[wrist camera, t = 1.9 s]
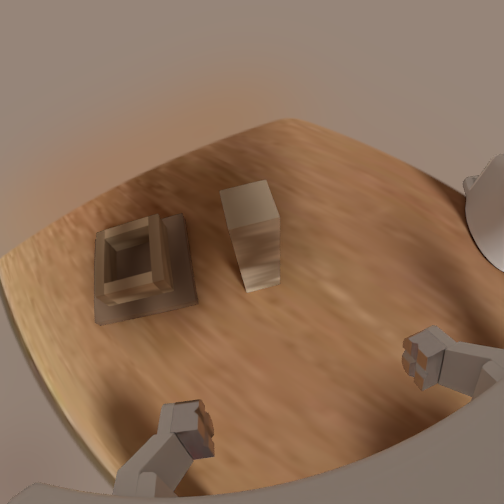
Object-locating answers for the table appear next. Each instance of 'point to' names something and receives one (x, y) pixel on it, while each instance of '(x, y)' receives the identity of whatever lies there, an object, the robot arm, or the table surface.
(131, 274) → the wooden socket base
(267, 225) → the beige rectangular block
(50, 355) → the table surface
